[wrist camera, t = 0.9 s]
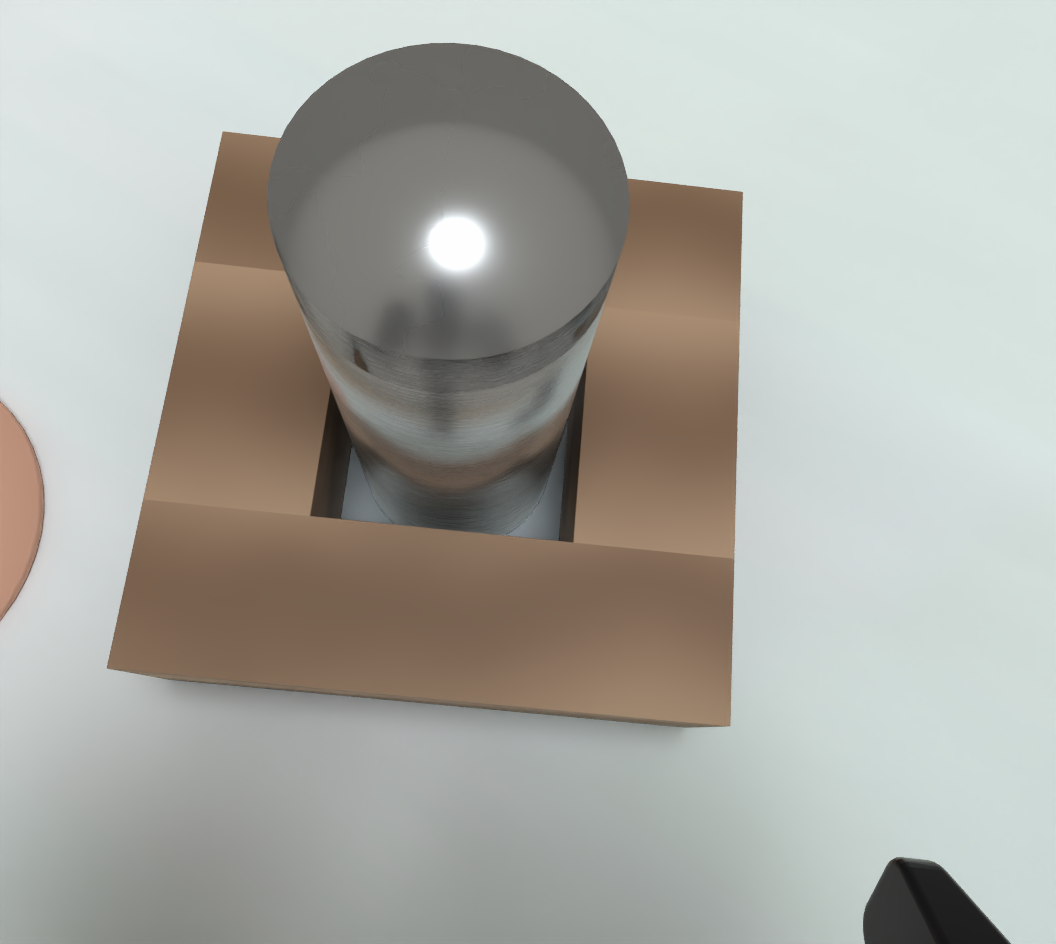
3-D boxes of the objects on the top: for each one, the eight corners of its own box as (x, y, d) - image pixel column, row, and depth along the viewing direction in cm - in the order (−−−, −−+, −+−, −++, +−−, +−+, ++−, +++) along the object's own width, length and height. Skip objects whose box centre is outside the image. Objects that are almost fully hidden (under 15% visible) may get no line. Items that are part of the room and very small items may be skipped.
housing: (685, 727, 23) (730, 726, 19) (168, 679, 22) (106, 668, 19) (702, 270, 27) (742, 192, 23) (258, 220, 26) (223, 131, 22)
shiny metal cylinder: (474, 586, 24) (482, 432, 12) (326, 472, 24) (188, 214, 12) (586, 442, 25) (697, 171, 13) (443, 338, 25) (423, -15, 13)
